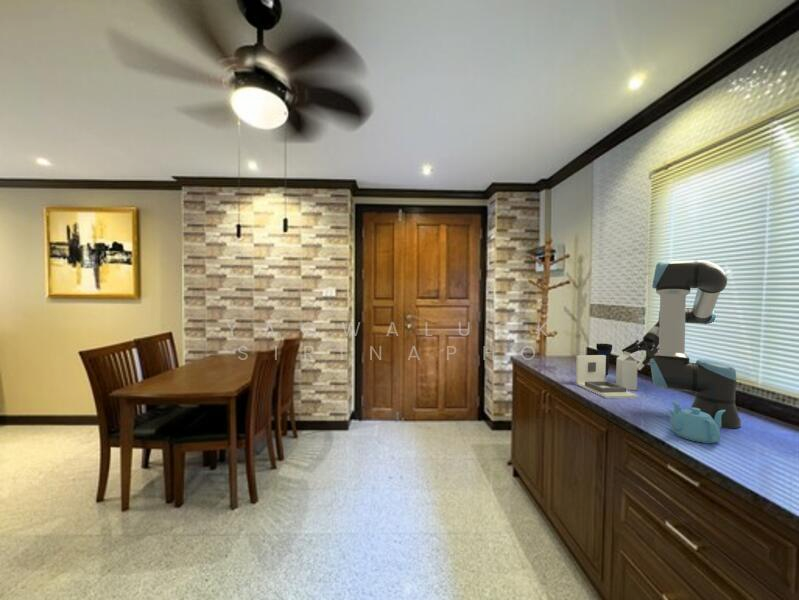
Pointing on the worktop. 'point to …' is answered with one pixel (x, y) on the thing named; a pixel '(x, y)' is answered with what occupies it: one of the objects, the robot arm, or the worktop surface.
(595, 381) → the dock
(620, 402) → the worktop surface
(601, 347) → the flashlight
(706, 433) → the teapot
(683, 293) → the robot arm
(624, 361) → the milk carton
